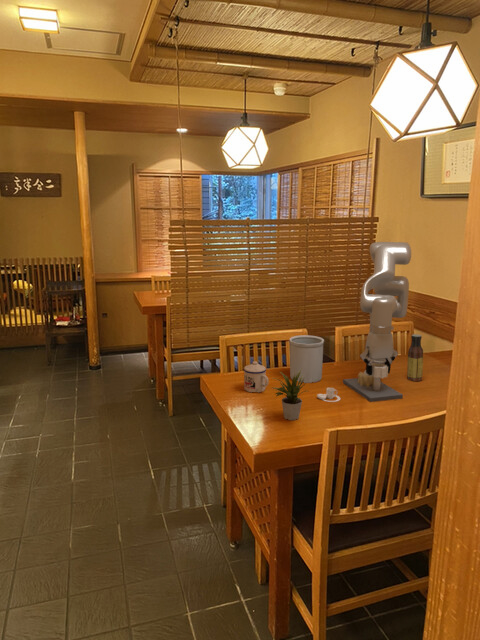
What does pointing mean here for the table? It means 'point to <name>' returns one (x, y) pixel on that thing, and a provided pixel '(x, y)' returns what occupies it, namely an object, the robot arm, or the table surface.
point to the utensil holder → (306, 357)
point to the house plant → (291, 397)
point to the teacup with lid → (255, 378)
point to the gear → (379, 370)
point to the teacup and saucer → (329, 395)
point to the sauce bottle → (415, 359)
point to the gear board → (372, 388)
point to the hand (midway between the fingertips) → (377, 373)
